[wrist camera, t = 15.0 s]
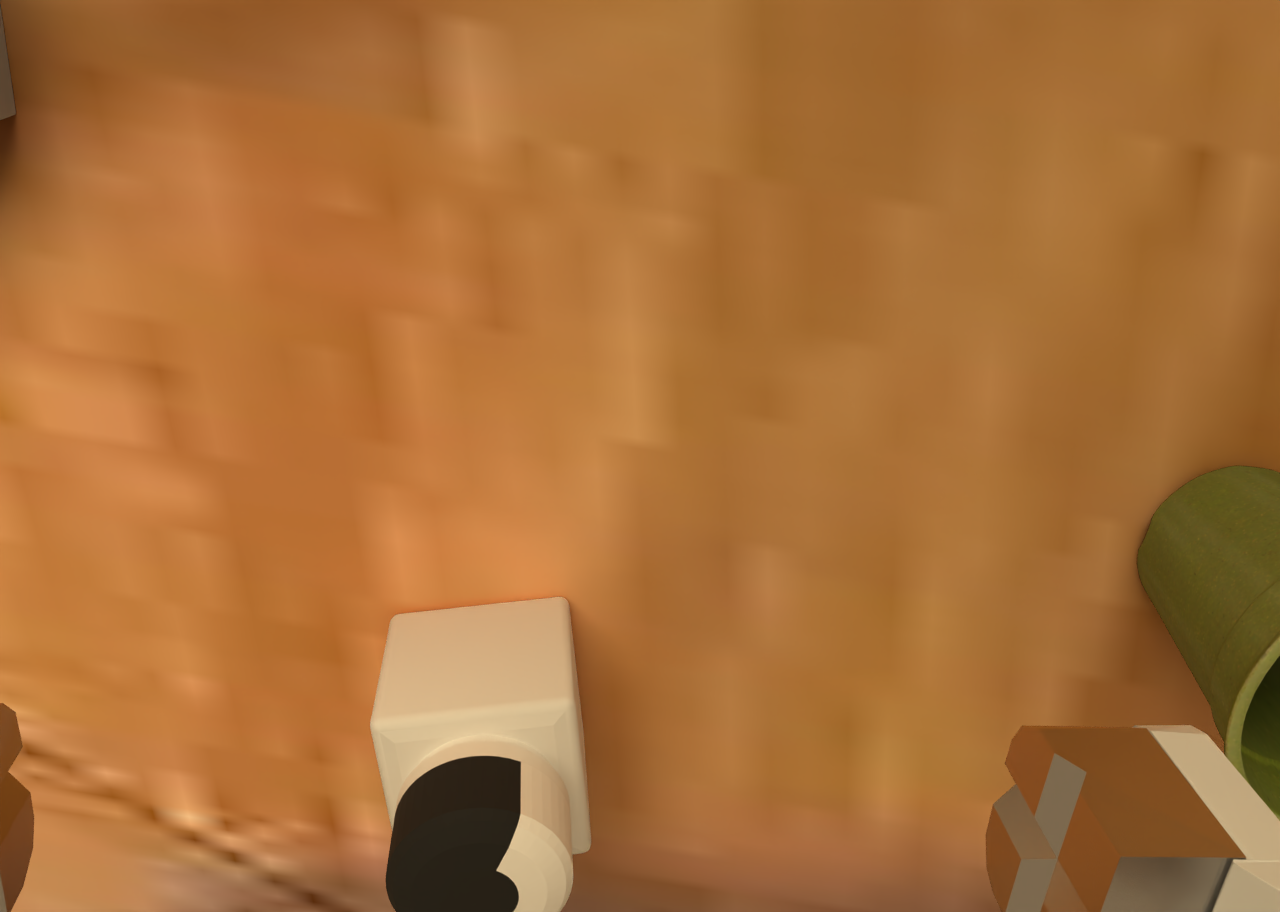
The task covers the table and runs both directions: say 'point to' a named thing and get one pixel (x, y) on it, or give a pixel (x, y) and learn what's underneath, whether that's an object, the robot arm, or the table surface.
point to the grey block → (5, 79)
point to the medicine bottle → (482, 758)
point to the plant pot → (1226, 607)
